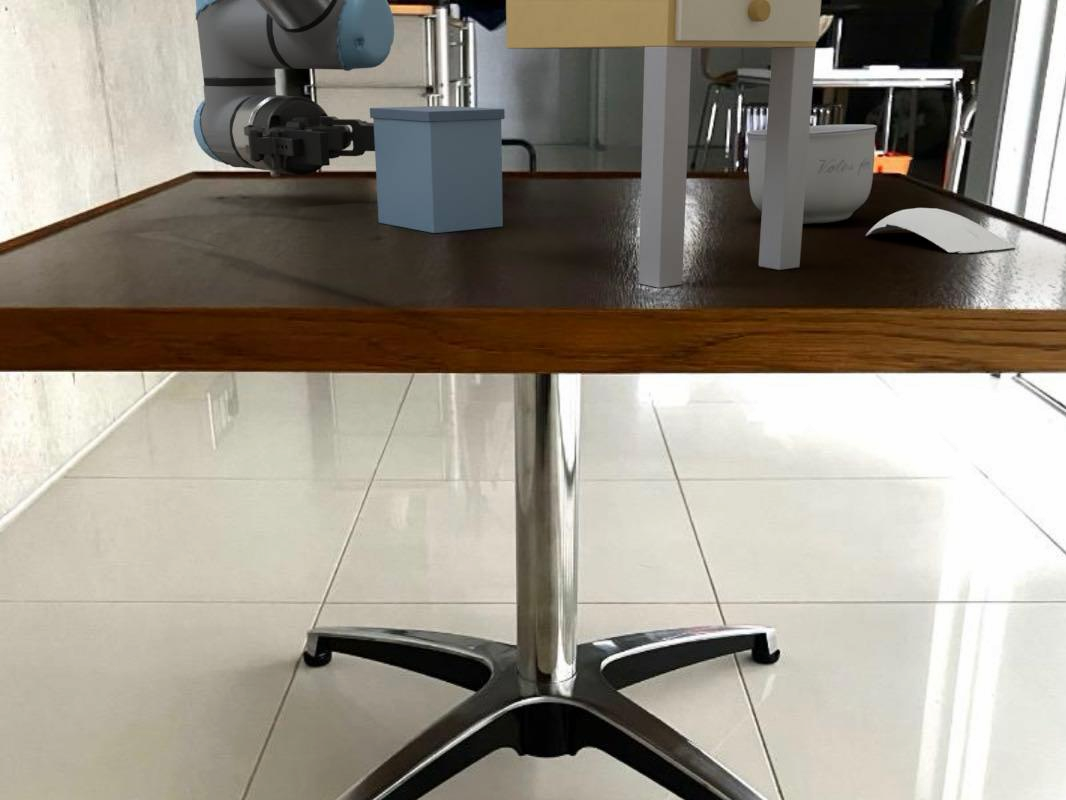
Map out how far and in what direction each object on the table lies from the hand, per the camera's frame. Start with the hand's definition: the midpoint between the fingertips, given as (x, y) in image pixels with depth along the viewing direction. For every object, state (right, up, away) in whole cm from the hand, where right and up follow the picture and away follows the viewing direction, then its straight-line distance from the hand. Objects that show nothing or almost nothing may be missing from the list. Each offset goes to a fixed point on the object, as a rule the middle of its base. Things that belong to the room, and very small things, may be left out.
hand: (393, 145), depth 109 cm
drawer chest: (+21, -16, -23) cm, 35 cm away
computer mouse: (+44, -12, -14) cm, 48 cm away
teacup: (+37, -7, -1) cm, 38 cm away
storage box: (+4, -8, -3) cm, 10 cm away
